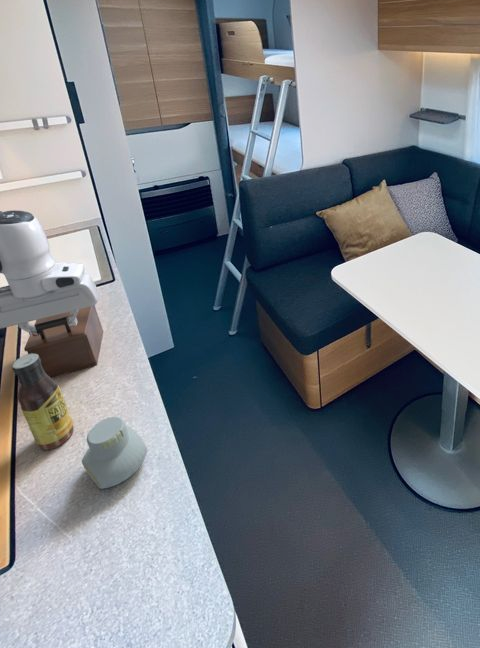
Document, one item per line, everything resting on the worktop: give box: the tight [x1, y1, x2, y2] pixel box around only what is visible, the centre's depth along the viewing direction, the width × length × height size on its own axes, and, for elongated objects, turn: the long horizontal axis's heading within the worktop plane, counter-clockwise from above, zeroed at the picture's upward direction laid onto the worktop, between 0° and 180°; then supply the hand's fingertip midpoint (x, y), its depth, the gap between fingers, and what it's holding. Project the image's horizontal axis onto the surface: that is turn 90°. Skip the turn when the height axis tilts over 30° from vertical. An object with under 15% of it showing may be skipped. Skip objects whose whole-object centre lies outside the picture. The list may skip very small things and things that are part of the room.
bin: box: [26, 305, 104, 379], centre depth 103 cm, size 14×12×10 cm
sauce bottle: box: [11, 353, 74, 451], centre depth 80 cm, size 7×6×20 cm
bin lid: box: [23, 306, 93, 352], centre depth 100 cm, size 14×12×5 cm
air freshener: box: [81, 416, 148, 489], centre depth 76 cm, size 11×8×10 cm
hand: (55, 329), depth 96 cm, fingers closed on bin lid, 6 cm apart
